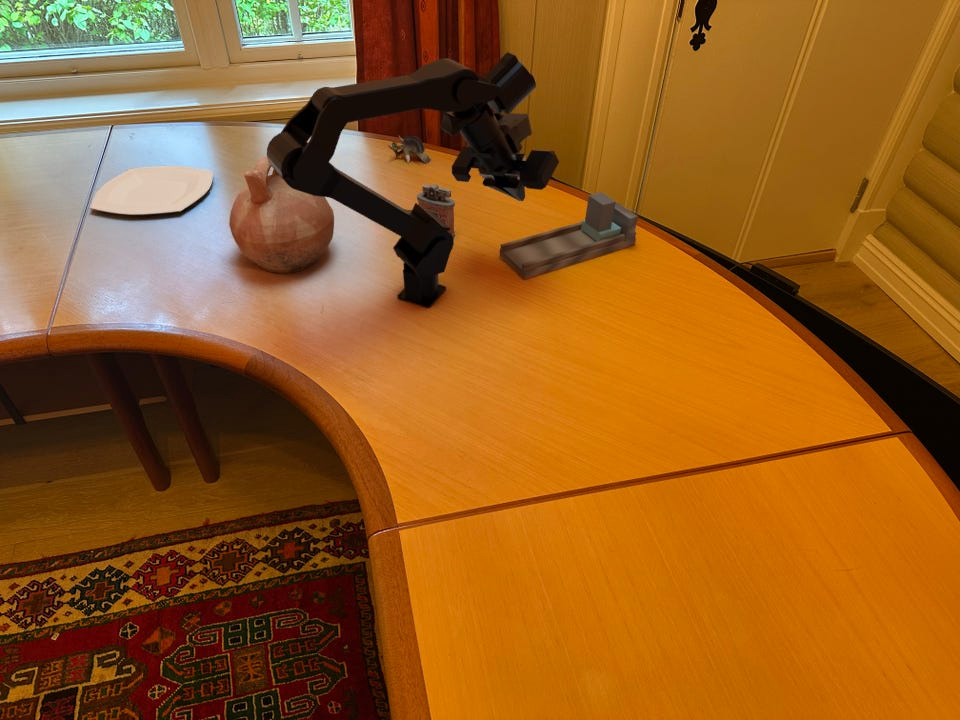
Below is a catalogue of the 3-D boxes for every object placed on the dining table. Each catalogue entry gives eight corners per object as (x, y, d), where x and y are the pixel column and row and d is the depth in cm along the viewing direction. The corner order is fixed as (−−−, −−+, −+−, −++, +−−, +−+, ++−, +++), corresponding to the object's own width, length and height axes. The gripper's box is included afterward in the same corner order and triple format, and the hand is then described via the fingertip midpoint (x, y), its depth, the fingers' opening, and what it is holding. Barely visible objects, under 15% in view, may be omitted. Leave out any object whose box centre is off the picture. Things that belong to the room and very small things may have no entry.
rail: (524, 279, 110) (527, 248, 106) (499, 256, 116) (500, 225, 112) (634, 245, 120) (641, 215, 116) (606, 225, 126) (611, 196, 122)
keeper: (599, 243, 117) (605, 206, 112) (580, 229, 121) (586, 193, 116) (619, 237, 119) (626, 201, 114) (600, 223, 123) (606, 188, 118)
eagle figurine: (388, 162, 144) (424, 159, 142) (386, 131, 143) (422, 127, 141) (400, 168, 152) (434, 164, 150) (398, 138, 151) (432, 135, 149)
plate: (189, 224, 124) (187, 215, 122) (77, 220, 124) (73, 212, 123) (227, 175, 141) (225, 167, 140) (129, 172, 141) (125, 164, 140)
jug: (315, 290, 107) (294, 184, 93) (221, 277, 109) (188, 171, 96) (353, 238, 120) (339, 138, 107) (268, 227, 123) (244, 128, 109)
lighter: (415, 231, 123) (412, 185, 116) (424, 224, 125) (422, 178, 118) (449, 241, 120) (449, 194, 113) (458, 234, 122) (457, 187, 116)
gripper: (556, 94, 90) (587, 166, 103) (461, 94, 101) (500, 159, 113) (523, 152, 88) (560, 219, 100) (430, 146, 99) (473, 207, 111)
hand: (522, 198), depth 106 cm, fingers closed
